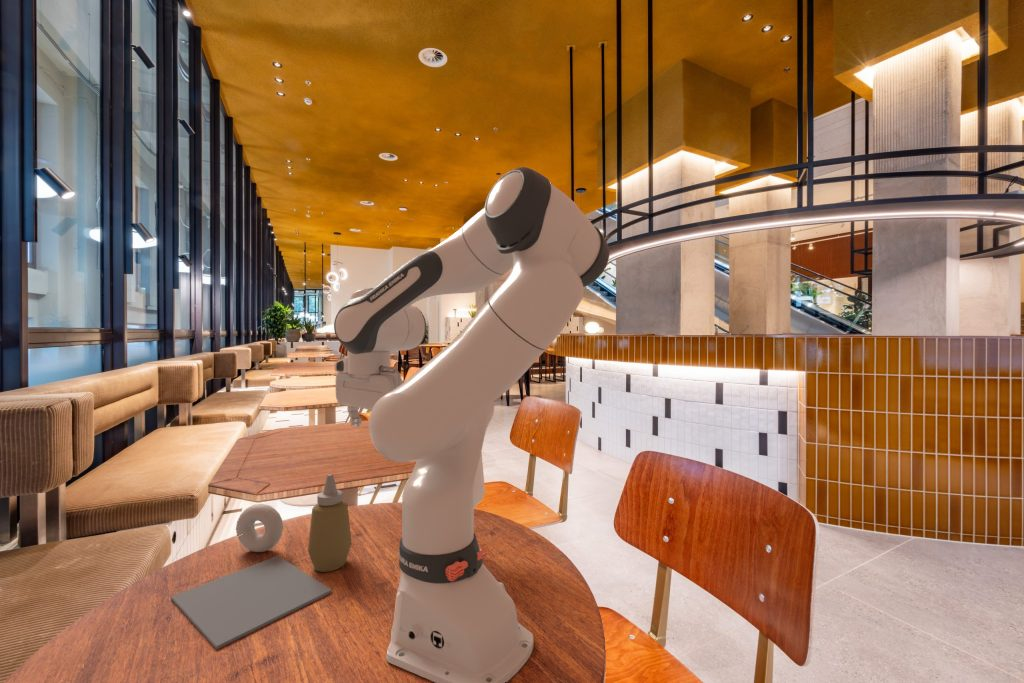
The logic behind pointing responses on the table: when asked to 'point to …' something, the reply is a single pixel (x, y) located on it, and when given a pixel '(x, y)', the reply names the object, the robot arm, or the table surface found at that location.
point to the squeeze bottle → (329, 529)
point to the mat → (248, 599)
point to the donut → (250, 536)
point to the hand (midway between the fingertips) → (368, 429)
